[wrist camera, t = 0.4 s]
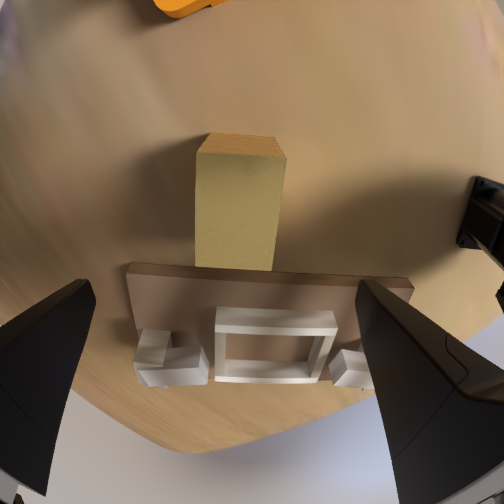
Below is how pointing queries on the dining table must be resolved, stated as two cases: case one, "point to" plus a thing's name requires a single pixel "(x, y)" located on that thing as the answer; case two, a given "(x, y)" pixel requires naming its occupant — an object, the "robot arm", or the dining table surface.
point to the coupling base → (248, 326)
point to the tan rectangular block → (237, 201)
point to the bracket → (183, 6)
